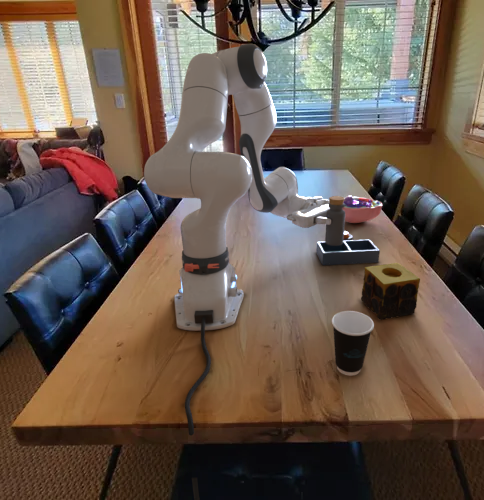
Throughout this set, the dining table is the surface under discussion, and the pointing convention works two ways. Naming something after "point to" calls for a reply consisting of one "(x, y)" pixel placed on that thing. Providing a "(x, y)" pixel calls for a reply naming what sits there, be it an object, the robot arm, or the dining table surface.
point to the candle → (390, 290)
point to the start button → (346, 234)
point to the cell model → (361, 209)
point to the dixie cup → (351, 340)
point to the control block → (348, 238)
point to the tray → (348, 252)
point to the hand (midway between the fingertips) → (338, 218)
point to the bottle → (335, 221)
